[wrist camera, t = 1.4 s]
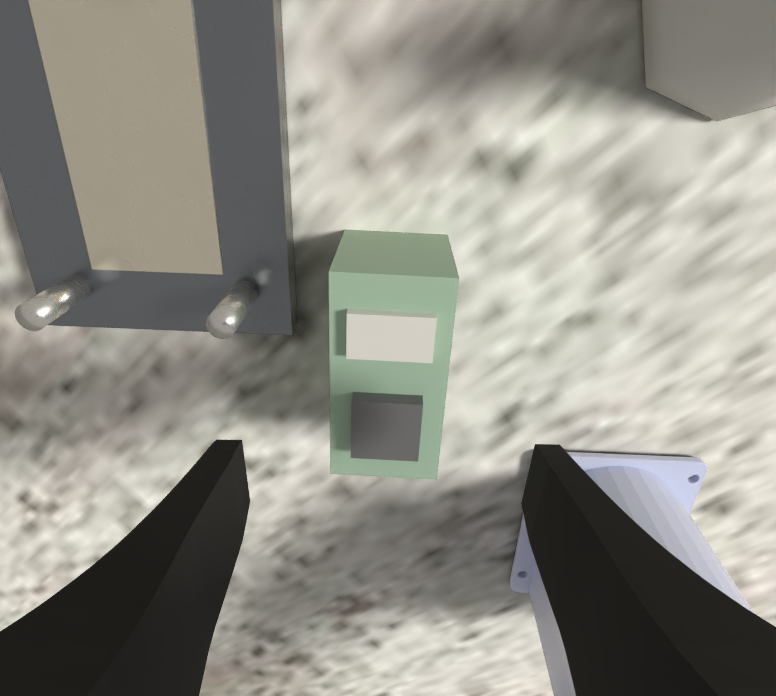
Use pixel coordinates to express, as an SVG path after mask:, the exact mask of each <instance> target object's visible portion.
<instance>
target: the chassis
mask: <svg viewBox="0 0 776 696" xmlns="http://www.w3.org/2000/svg"><path fill="white" fill-rule="evenodd" d="M0 170H1V174H2V177H3V180H4V184H5V187H6V191H7V194H8V197H9V201H10V204H11V208H12V211H13V214H14V218H15V221H16V225H17V228H18V231H19V235H20V238H21V242H22V245H23V248H24V252H25V255H26V259H27V262H28V265H29V269H30V272H31V276H32V279H33V282H34V286H35V289H36V293H37V295H36V296H34V297H32V298H31V299H29V300H27V301H26V302H24V303H22V304H21V305H19V306H18V307H17V308H16V310H15V317H16V319H17V321H18V322H19V324H20V325H21V326H23V327H24V328H26V329H28V330H31V331H38V330H41V329H42V328H44V327H45V326H47V325H57V326H82V327H106V328H130V329H155V330H179V331H203V332H210V333H211V334H212V335H213V336H215V337H217V338H221V339H225V338H229V337H231V336H232V335H233V334H234V333H252V334H276V335H292V334H293V332H294V330H295V327H296V325H297V304H296V285H295V266H294V247H293V227H292V208H291V189H290V169H289V150H288V131H287V111H286V92H285V73H284V53H283V34H282V15H281V0H0Z"/></svg>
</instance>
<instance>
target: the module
mask: <svg viewBox="0 0 776 696" xmlns="http://www.w3.org/2000/svg"><path fill="white" fill-rule="evenodd" d="M458 283H459V276H458V272H457V268H456V265H455V261H454V257H453V253H452V250H451V246H450V242H449V238H448V235H441V234H421V233H401V232H381V231H362V230H344V233H343V236H342V238H341V241H340V243H339V246H338V249H337V251H336V254H335V256H334V259H333V262H332V264H331V267H330V269H329V364H330V472H331V474H342V475H361V476H380V477H399V478H418V479H437V472H438V463H439V454H440V445H441V436H442V427H443V418H444V409H445V400H446V391H447V382H448V373H449V364H450V355H451V346H452V337H453V328H454V319H455V310H456V301H457V292H458Z"/></svg>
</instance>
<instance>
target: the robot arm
mask: <svg viewBox="0 0 776 696" xmlns="http://www.w3.org/2000/svg"><path fill="white" fill-rule="evenodd" d="M706 472H707V465H706V464H705V462H704V461H703V460H702V459H701V458H697V457H674V456H651V455H627V454H604V453H581V452H566V451H565V450H564V449H563V448H562V447H561V446H560V445H545V444H535V447H534V451H533V456H532V460H531V464H530V469H529V473H528V477H527V482H526V486H525V490H524V495H523V499H522V503H521V504H522V509H523V517H522V522H521V527H520V532H519V537H518V542H517V547H516V552H515V557H514V562H513V567H512V572H511V576H510V588H511V590H512V591H514V592H517V593H529V594H530V598H531V603H532V607H533V611H534V615H535V619H536V623H537V627H538V632H539V636H540V640H541V644H542V648H543V652H544V656H545V661H546V665H547V669H548V673H549V677H550V681H551V686H552V690H553V694H554V696H776V627H775V626H773V625H772V624H770V623H768V622H767V621H765V620H763V619H762V618H760V617H759V616H757V615H756V614H754V613H753V611H752V610H751V608H750V606H749V605H748V603H747V602H746V600H745V599H744V597H743V596H742V594H741V593H740V591H739V590H738V588H737V586H736V585H735V583H734V582H733V580H732V579H731V577H730V576H729V574H728V573H727V571H726V570H725V568H724V566H723V565H722V563H721V562H720V560H719V559H718V557H717V556H716V554H715V553H714V551H713V550H712V548H711V546H710V545H709V543H708V542H707V540H706V539H705V537H704V536H703V534H702V533H701V531H700V529H699V528H698V526H697V525H696V523H695V522H694V520H693V519H692V517H691V516H690V512H691V509H692V507H693V504H694V502H695V499H696V497H697V494H698V492H699V489H700V487H701V484H702V482H703V479H704V477H705V474H706ZM691 475H694V476H692V477H690V476H691ZM249 504H250V497H249V490H248V482H247V475H246V467H245V460H244V452H243V444H242V440H216V441H215V442H214V443H212V445H211V446H210V447H209V448H208V449H207V451H206V452H205V453H204V454H203V455H202V456H201V458H200V459H199V460H198V461H197V462H196V464H195V465H194V466H193V467H192V468H191V469H190V470H189V472H188V473H187V474H186V475H185V476H184V477H183V478H182V480H181V481H180V482H179V483H178V484H177V485H176V486H175V487H174V488H173V489H172V490H171V492H170V493H169V494H168V495H167V496H166V497H165V498H164V499H163V500H162V501H161V502H160V503H159V504H158V505H157V506H156V507H155V509H153V510H152V511H151V512H150V513H149V514H148V515H147V516H146V517H145V518H144V519H143V520H142V521H141V522H140V523H139V524H138V525H137V526H136V527H135V528H134V529H133V530H132V531H131V532H130V533H129V534H128V535H127V536H126V537H125V538H124V539H122V540H121V541H120V542H119V543H118V544H117V545H116V546H115V547H114V548H112V549H111V550H110V551H109V552H108V553H107V554H105V555H104V556H103V557H102V558H101V559H100V560H98V561H97V562H96V563H95V564H94V565H92V566H91V567H90V568H89V569H87V570H86V571H85V572H84V573H82V574H81V575H80V576H79V577H77V578H76V579H75V580H73V581H72V582H71V583H69V584H68V585H67V586H65V587H64V588H63V589H61V590H60V591H59V592H57V593H56V594H55V595H53V596H52V597H51V598H49V599H48V600H47V601H45V602H44V603H42V604H41V605H40V606H38V607H37V608H35V609H34V610H32V611H31V612H29V613H28V614H26V615H25V616H23V617H22V618H20V619H19V620H17V621H16V622H14V623H13V624H11V625H10V626H8V627H7V628H5V629H3V630H2V631H0V696H199V693H200V688H201V684H202V679H203V675H204V670H205V665H206V661H207V656H208V652H209V648H210V644H211V640H212V637H213V633H214V629H215V626H216V623H217V620H218V617H219V614H220V610H221V607H222V604H223V601H224V598H225V595H226V592H227V588H228V585H229V582H230V579H231V576H232V573H233V570H234V566H235V563H236V560H237V557H238V554H239V550H240V547H241V544H242V540H243V536H244V531H245V525H246V520H247V515H248V509H249ZM521 571H523V572H521Z"/></svg>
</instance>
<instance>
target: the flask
mask: <svg viewBox="0 0 776 696" xmlns="http://www.w3.org/2000/svg"><path fill="white" fill-rule="evenodd" d="M642 16H643V38H644V60H645V82H646V88H648V89H651V90H653V91H655V92H657V93H659V94H661V95H663V96H665V97H667V98H669V99H671V100H673V101H675V102H678V103H680V104H682V105H684V106H686V107H688V108H690V109H692V110H694V111H696V112H698V113H700V114H703V115H705V116H707V117H709V118H711V119H713V120H715V121H721V120H724V119H728V118H732V117H736V116H739V115H743V114H747V113H751V112H754V111H758V110H762V109H766V108H769V107H773V106H776V0H642Z"/></svg>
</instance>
